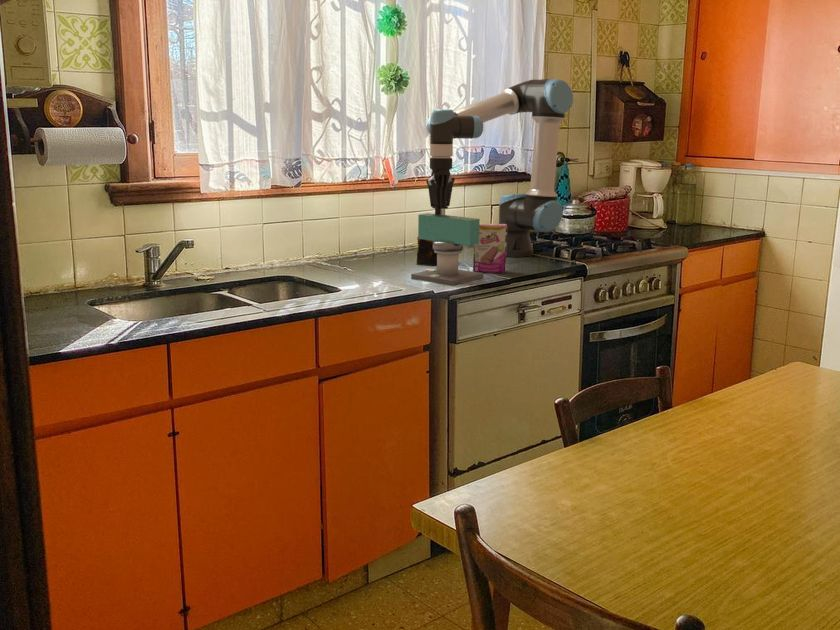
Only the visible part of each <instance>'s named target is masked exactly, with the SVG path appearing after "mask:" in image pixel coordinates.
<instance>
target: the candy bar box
mask: <svg viewBox="0 0 840 630" xmlns="http://www.w3.org/2000/svg"><path fill="white" fill-rule="evenodd" d="M506 245H507V224H499V223H486V222H485V223H481V222H479V244H475V245H473V260H472V261H473V262H472V263H473V264H472V271H473V272H479V273H483V274H484V273H487V274H489V273H490V274H494V273H495V274H506V267H507V266H506V264H507V263H506V262H507V256H506Z"/></svg>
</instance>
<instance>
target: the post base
mask: <svg viewBox="0 0 840 630" xmlns="http://www.w3.org/2000/svg"><path fill="white" fill-rule="evenodd" d="M434 252H435V253H437V266H436V267H435V268H426V269H425V270H424V271H419V272H414V273H411V275H410V277H411V278H410V279H412V280H418V281H425V282H430V283H436V284H440V285H446V286H451V287H453V286H456V285H457V286H458V285H460V284H461V285H462V284H464V283H468V282H469V283H470V282H472V281H476V280H480V279H483V278H484V273H483V272H473V270H466V269H459V254H462V252H463V251H462V250H460V251H438V250H434Z"/></svg>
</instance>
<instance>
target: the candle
mask: <svg viewBox="0 0 840 630" xmlns="http://www.w3.org/2000/svg"><path fill="white" fill-rule="evenodd" d="M416 239H417V253H416V265H422V266H432V267H437V253H435V252H434V249H433V241H432V240H424V239H418V236H417V238H416Z"/></svg>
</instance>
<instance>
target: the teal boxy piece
mask: <svg viewBox="0 0 840 630" xmlns="http://www.w3.org/2000/svg"><path fill="white" fill-rule="evenodd" d="M480 220H481V219H480V218H476V217H475V218H474V217H465V216H456V215H446V214H445V215H440V214H435V213H429V212H427V213H418V222H417V223H418V233H417V235H418V236H417V237H418V239H424V240H432V241H433V249H434V250H438V251H460V250H463V251H464V246H474V245H475V244H479V223H480Z"/></svg>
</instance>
